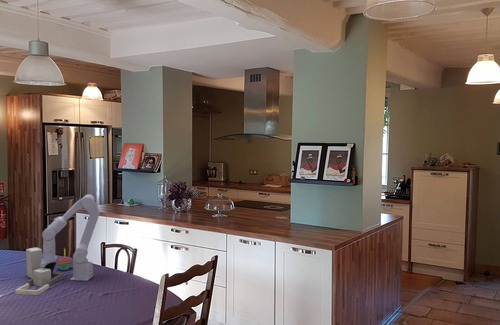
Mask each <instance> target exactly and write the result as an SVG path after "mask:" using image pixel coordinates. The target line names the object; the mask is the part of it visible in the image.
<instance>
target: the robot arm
mask: <svg viewBox="0 0 500 325" xmlns="http://www.w3.org/2000/svg"><path fill="white" fill-rule="evenodd" d="M83 209H85V210H86V211H87V213H88V215H89V216H88V218H87V222H86V224H85V227H84V229H83V233H82V236H81V239H80V241H79V244H78V246H77V248H76V250H75V252H74V253H73V254H72V259H73V262H72V277H71V278H70V279H69V280H70V281H87V282H88V281H89V280H91V279H92V278H93V277H94V265H93V262H92V261H89V260H88V258H87V256H88V253H89V252H88V248H89V245H90V242H91V239H92V236H93V234H94V230H95V228H96V225H97V222H98V219H99V216H100V213H101V212H100V209H99V205H98V200H97V198H95V196H94V195H93V194H92V193H91V194H90V193H88V194H85V195H84V196H83V197H82V198H80V199H79V200H77V201H75V203H74V204H73V205H72V206H71V207H70V208H69V209H68V210H66V212H65V213H64V214H63V216H62V215H61V216H57V217H55V218H54V219H53V221H52V222H51V224H48V225H47V226H46V227H47V228H45V229H44V230H43V231H42V232H41V233H42V234H41V237H42V240H43V241H42V242H43V243H42V260H41V261H42V263H41V267H43V268H46V269H50V270H51V277H52V274H53V273H54V270H55V267H56V265H57V260H58V255H56V238H55V237H56V236H57V234H58V233H59V232H61V231H62V229H63V228H65V226H67V224H68V220H69V219H70V218H72V216H73V215H74V214H75V213H76V212H77V211H80V210H83Z"/></svg>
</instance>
